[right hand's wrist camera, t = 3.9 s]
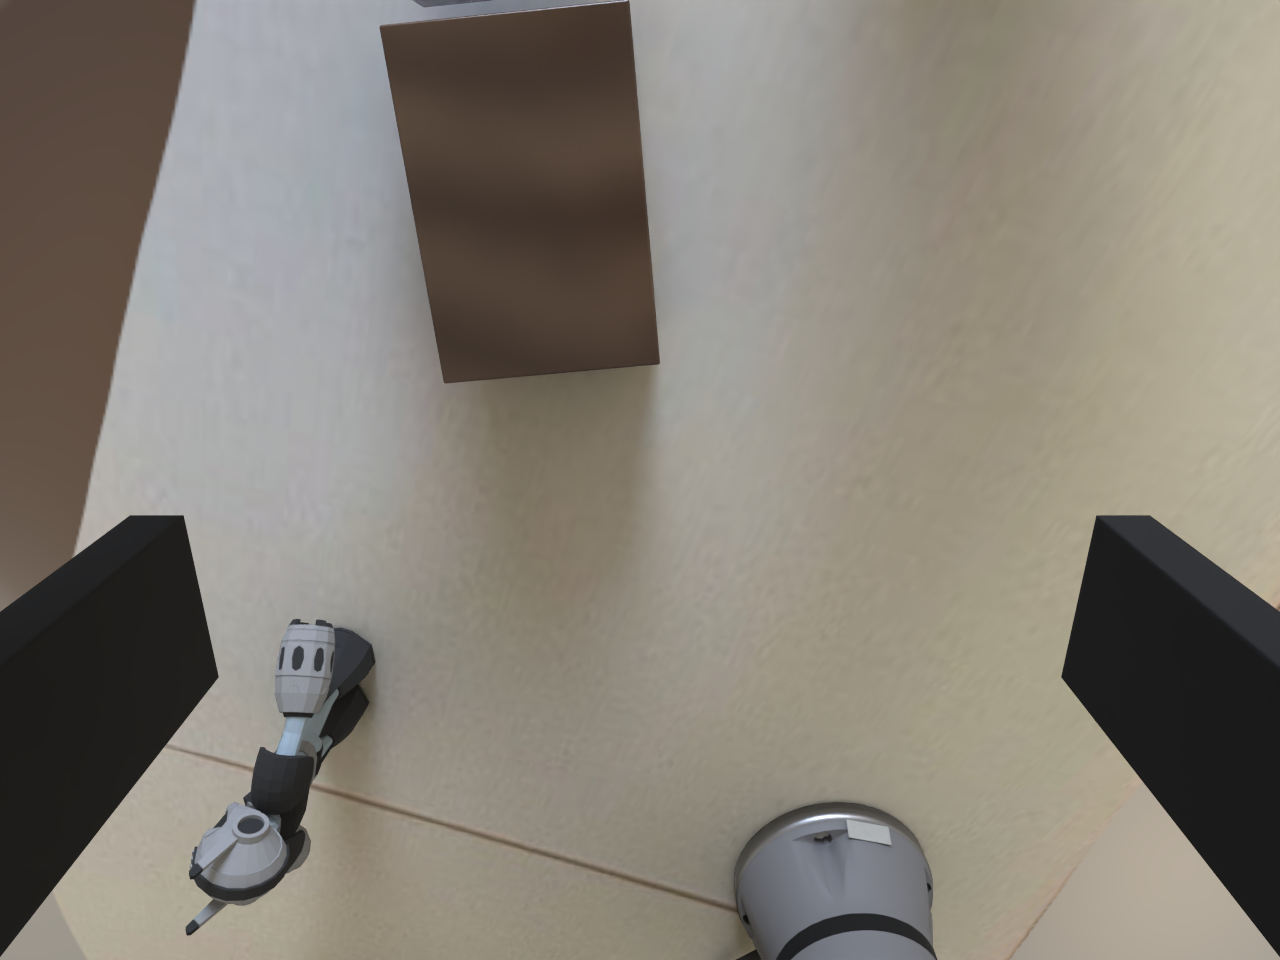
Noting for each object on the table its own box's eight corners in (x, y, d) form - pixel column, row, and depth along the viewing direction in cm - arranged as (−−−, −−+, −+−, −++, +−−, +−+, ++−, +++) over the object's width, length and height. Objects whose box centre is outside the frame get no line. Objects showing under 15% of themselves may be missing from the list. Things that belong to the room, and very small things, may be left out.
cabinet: (422, 44, 46) (378, 25, 39) (631, 23, 46) (629, -1, 38) (472, 348, 53) (443, 384, 45) (657, 331, 52) (660, 364, 44)
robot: (360, 788, 65) (247, 1048, 46) (295, 776, 65) (156, 1034, 46) (393, 565, 58) (277, 765, 39) (321, 550, 57) (169, 745, 39)
